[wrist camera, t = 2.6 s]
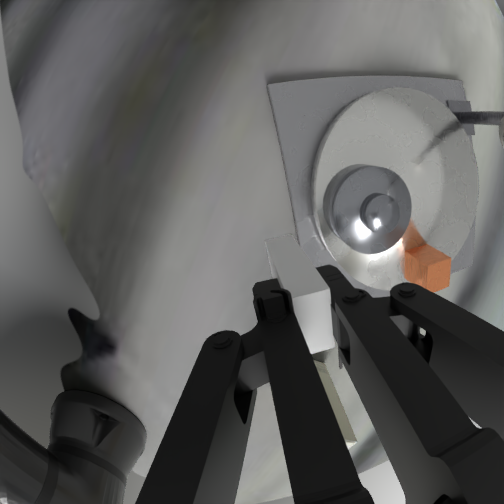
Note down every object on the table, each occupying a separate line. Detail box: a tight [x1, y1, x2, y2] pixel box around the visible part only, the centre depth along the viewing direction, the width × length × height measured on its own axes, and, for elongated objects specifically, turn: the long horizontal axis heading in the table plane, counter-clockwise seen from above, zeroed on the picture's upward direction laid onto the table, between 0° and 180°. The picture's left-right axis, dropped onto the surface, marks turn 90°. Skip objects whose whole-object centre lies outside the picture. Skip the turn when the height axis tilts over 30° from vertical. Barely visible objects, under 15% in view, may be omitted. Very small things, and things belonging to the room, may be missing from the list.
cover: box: [323, 164, 412, 254], centre depth 22 cm, size 7×7×4 cm
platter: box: [311, 87, 479, 293], centre depth 23 cm, size 20×20×5 cm
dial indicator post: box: [447, 100, 504, 148], centre depth 19 cm, size 4×6×13 cm
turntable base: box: [267, 76, 475, 298], centre depth 26 cm, size 23×23×1 cm
